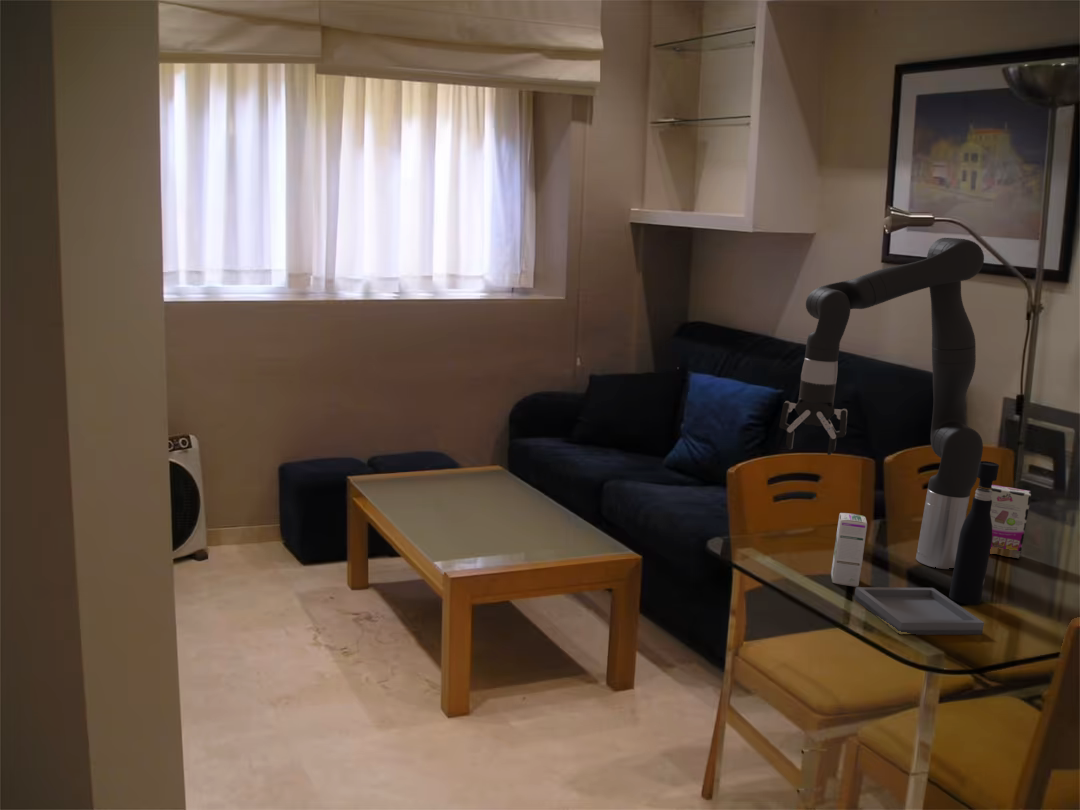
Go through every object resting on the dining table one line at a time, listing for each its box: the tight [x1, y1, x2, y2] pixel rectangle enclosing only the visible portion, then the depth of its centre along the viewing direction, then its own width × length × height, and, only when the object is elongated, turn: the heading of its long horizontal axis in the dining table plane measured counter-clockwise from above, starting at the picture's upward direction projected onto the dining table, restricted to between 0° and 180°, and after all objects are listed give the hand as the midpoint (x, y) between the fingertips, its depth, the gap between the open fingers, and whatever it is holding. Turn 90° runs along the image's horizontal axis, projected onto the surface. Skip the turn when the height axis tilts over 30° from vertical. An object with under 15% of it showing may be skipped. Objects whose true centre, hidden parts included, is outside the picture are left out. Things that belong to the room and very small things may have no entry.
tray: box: [853, 586, 985, 636], centre depth 221 cm, size 18×18×2 cm
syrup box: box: [830, 512, 868, 588], centre depth 236 cm, size 6×6×14 cm
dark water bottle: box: [948, 460, 1000, 606], centre depth 231 cm, size 6×6×30 cm
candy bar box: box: [990, 484, 1032, 552], centre depth 267 cm, size 11×5×16 cm, turn 68°
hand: (809, 451), depth 243 cm, fingers open, 8 cm apart
